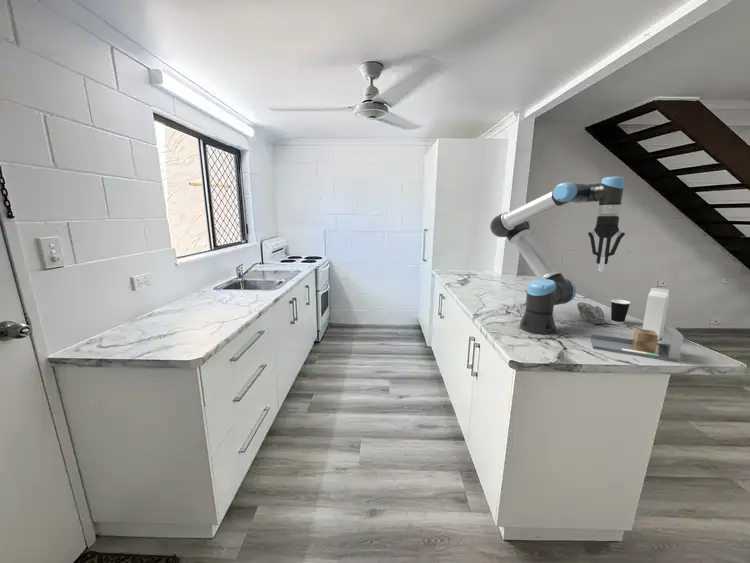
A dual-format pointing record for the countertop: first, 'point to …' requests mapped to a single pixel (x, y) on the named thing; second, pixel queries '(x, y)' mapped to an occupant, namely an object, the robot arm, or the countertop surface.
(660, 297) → the milk
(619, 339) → the gauge track
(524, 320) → the robot arm
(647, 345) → the block
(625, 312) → the dixie cup
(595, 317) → the rock
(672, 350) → the grey metal block
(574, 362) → the countertop surface
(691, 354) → the countertop surface
